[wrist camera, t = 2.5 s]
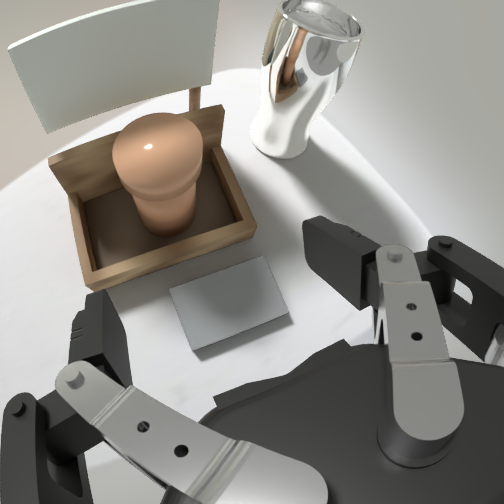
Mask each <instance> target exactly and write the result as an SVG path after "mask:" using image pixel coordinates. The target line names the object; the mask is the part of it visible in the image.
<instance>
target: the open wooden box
mask: <svg viewBox="0 0 504 504" xmlns="http://www.w3.org/2000/svg"><path fill="white" fill-rule="evenodd" d="M200 93H201V86H200V87H195V88H191V89H189V112H185V113H181V114H177V115H180V116H183V117H185V118H187V119H188V120H190V121H191V122H192V123H193V124H194V125H195V126H196V127H197V128H198V129H199V131H200V133H201V136H202V141H203V151H202V168H201V172H200V175H199V177H198V179H197V180H196V215H195V218H194V221H193V223H192V224H191V226H190V227H189V228H188V229H187V230H186V231H184V232H183V233H181V234H179V235H176V236H172V237H161V236H157V235H154V234H153V233H151V232H150V231H148V230H147V229H146V228H145V226H144V225H143V223H142V220H141V218H140V215H139V212H138V210H137V207H136V204H135V202H134V199H133V196H132V194H131V193H129V192H128V191H127V190H126V189H125V188H124V186H123V185H122V183H121V181H120V178H119V175H118V173H117V170H116V167H115V165H114V162H113V157H112V150H113V145H114V142H115V140H116V138H117V136H118V135H119V133H120V132H121V131H118V132H115V133H112V134H109V135H107V136H104V137H101V138H98V139H95V140H92V141H90V142H87V143H84V144H81V145H79V146H76V147H74V148H71V149H69V150H66V151H64V152H61V153H59V154H56V155H54V156H51V157H49V158H48V164H49V167H50V169H51V170H52V172H53V173H54V175H55V177H56V178H57V180H58V181H59V183H60V184H61V186H62V187H63V189H64V190H65V191H66V193H67V194H68V200H69V207H70V213H71V219H72V225H73V231H74V236H75V241H76V246H77V251H78V256H79V261H80V265H81V269H82V274H83V278H84V282H85V286H87V287H88V288H90V289H91V290H93V291H94V292H96V291H99V290H102V289H106V288H109V287H112V286H115V285H118V284H120V283H123V282H126V281H129V280H132V279H135V278H137V277H140V276H143V275H146V274H149V273H152V272H154V271H157V270H160V269H163V268H166V267H169V266H172V265H174V264H177V263H180V262H183V261H186V260H189V259H192V258H194V257H197V256H200V255H203V254H206V253H209V252H212V251H215V250H218V249H221V248H223V247H226V246H229V245H232V244H235V243H238V242H241V241H244V240H247V239H250V238H252V237H253V235H254V232H255V230H256V228H257V224H256V222H255V220H254V218H253V216H252V213H251V211H250V209H249V207H248V204H247V202H246V200H245V198H244V196H243V193H242V191H241V189H240V187H239V185H238V182H237V180H236V178H235V176H234V174H233V171H232V169H231V167H230V165H229V163H228V161H227V158H226V156H225V154H224V152H223V150H222V148H221V138H222V130H223V122H224V114H225V110H224V108H223V106H222V104H220V105H215V106H211V107H206V108H202V109H200Z"/></svg>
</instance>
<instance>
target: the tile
mask: <svg viewBox="0 0 504 504" xmlns="http://www.w3.org/2000/svg"><path fill="white" fill-rule="evenodd" d="M169 291H170V294H171V297H172V300H173V302H174V305H175V308H176V311H177V313H178V316H179V319H180V321H181V324H182V327H183V329H184V332H185V334H186V337H187V340H188V342H189V345H190V347H191V350H192V351H194V350H196V349H199V348H202V347H205V346H207V345H210V344H212V343H215V342H218V341H220V340H223V339H226V338H228V337H231V336H233V335H236V334H238V333H241V332H243V331H246V330H248V329H251V328H253V327H256V326H258V325H261V324H263V323H265V322H268V321H270V320H273V319H275V318H277V317H280V316H282V315H285V314H287V313H288V309H287V307H286V305H285V302H284V300H283V298H282V295H281V293H280V291H279V289H278V286H277V284H276V282H275V279H274V277H273V275H272V273H271V270H270V268H269V266H268V264H267V261H266V259H265V257H264V255H262V256H260V257H257V258H254V259H251V260H248V261H246V262H243V263H240V264H237V265H235V266H232V267H229V268H226V269H223V270H221V271H218V272H215V273H212V274H209V275H207V276H204V277H201V278H198V279H195V280H193V281H190V282H187V283H184V284H181V285H179V286H176V287H173V288H170V289H169Z"/></svg>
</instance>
